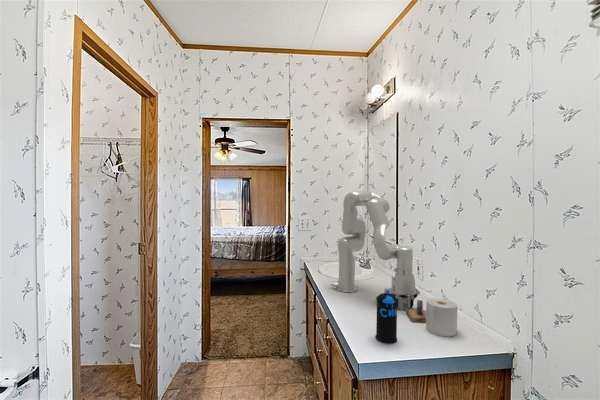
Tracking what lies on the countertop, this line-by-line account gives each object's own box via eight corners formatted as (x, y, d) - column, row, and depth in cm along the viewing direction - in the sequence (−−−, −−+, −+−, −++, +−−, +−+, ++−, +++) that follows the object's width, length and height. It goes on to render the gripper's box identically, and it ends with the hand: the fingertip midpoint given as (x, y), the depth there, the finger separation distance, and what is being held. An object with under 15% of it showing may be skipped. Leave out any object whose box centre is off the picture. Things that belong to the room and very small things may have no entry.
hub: (398, 310, 150) (398, 298, 150) (395, 305, 157) (395, 294, 157) (412, 310, 150) (412, 298, 150) (408, 306, 156) (408, 294, 156)
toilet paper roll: (445, 323, 136) (446, 297, 135) (463, 336, 124) (464, 307, 124) (420, 324, 134) (420, 298, 134) (436, 337, 122) (436, 308, 122)
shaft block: (411, 322, 136) (412, 304, 136) (405, 313, 146) (405, 297, 146) (434, 323, 136) (435, 305, 136) (426, 314, 146) (427, 297, 146)
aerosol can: (372, 334, 124) (373, 285, 124) (392, 333, 125) (393, 285, 124) (379, 344, 116) (380, 291, 116) (400, 343, 117) (401, 291, 116)
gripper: (388, 272, 150) (387, 309, 150) (424, 273, 149) (423, 310, 149) (385, 269, 157) (384, 303, 158) (419, 270, 156) (418, 304, 157)
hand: (403, 306), depth 153 cm, fingers closed on hub, 6 cm apart
